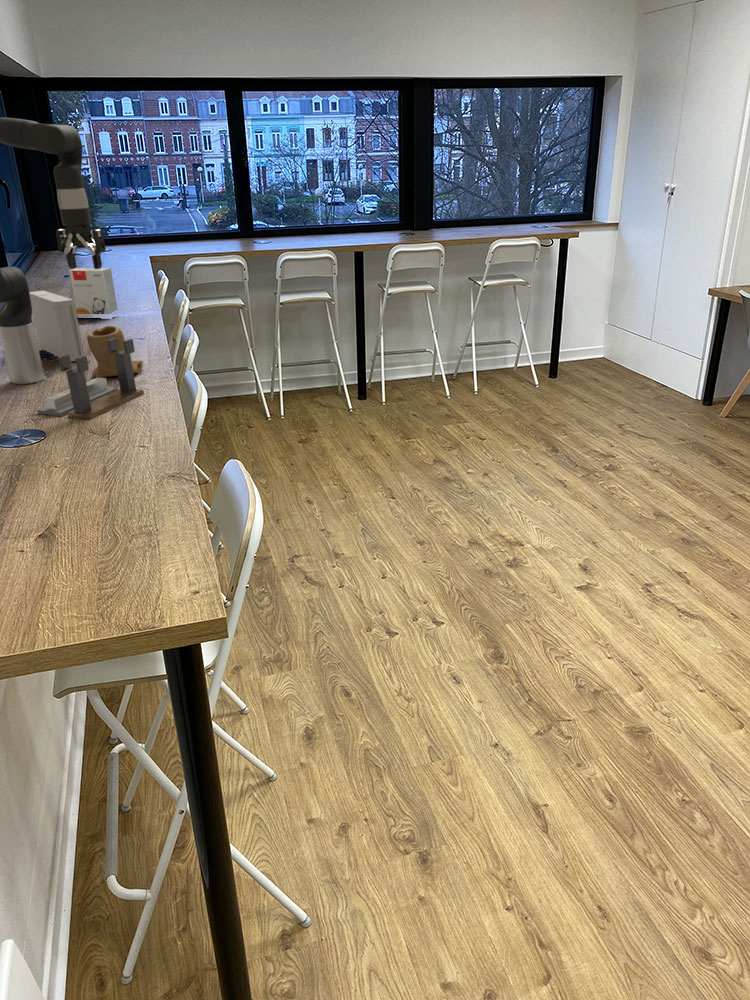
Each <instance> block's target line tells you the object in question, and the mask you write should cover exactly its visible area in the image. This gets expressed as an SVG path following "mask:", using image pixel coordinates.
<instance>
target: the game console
mask: <svg viewBox="0 0 750 1000" xmlns="http://www.w3.org/2000/svg"><path fill="white" fill-rule="evenodd" d="M29 293H30V299H31V305H32V320H33V325H34V329H35V331H36V332H35V334H36V338H37V341H38V342H37V343H38V345H39V346H40V349H41V350H42V351H43V350H45V351H47V352H50V353H52V354H54V355H56V356H58V357H61V356H63V355H69V356H70V361H75V359H76V358H79V357H81V356H86V355H85V351H84V346H83V341H82V336H81V331H80V324H79V321H78V319H77V314H76V309H75V303H74V298H73V299H72V298H68V297H66V296H62V295H60V294H59V295H58V294H56V293H53V292H49V291H46V290H39V291H38V290H37V291H31V292H30V291H29ZM45 351H44V352H45ZM47 352H46V353H47ZM56 356H55V357H56ZM58 357H57V358H58Z"/></svg>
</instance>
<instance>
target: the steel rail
mask: <svg viewBox="0 0 750 1000" xmlns="http://www.w3.org/2000/svg"><path fill="white" fill-rule="evenodd" d="M86 384H87V389H88V394H89V396H91V395H94V394H96V393H98V392H101V391H103V390H105V389H108V387H109V386H108V382H107V377H94V378H93V379H90V380H88V381H86ZM44 402H45V407H46V406H47V410H54V411H57V410H59V409H61V408H64V407H66V406H68V405H71V404H73V402H72V398H71V393H70V388H68V389H65V390H64V391H60V392H58V393H57V394H54V395H51V396H49V397H47V398H44Z"/></svg>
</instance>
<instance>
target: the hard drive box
mask: <svg viewBox="0 0 750 1000" xmlns="http://www.w3.org/2000/svg"><path fill="white" fill-rule="evenodd" d="M67 271H68V276H69V280H70V286H71V293H72V297H73V300H74V304H75V310H76V315H77V314H110V313H112V312H114V311H116V310H118V304H117V303H118V302H117V298H116V292H115V291H116V290H115V287H114V286H115V285H114V280H113V272H112V267H101V268H100V269H94V267H76V268H73V269H68V270H67ZM118 311H119V310H118Z"/></svg>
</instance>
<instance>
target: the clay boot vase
mask: <svg viewBox="0 0 750 1000" xmlns="http://www.w3.org/2000/svg"><path fill="white" fill-rule="evenodd" d="M112 338H117V343H118V349H119V351H124V345H123V341H125V337H124V333H123V332H122V330H121V328H120V327H118V326H115V325H106V326H104V327H103V326H102V327H101V328H95V329H93V330H90V331H89V332H88V333H87V337H86V341H87V344H88V347H89V350H90V351H91V354H92V355H93V357H94V359H95V360H96V363H97V367H95V368H94V369H93V370H92V371H91V374H92V376H94V378H97V377H98V378H109V377H118V373H117V368H116V362H115V356H114V353H116V352H119V351H116V352H114V353H109V351H108V345H107V340H109V339H112ZM131 362H132V368H133V373H134V375H135V374H139V373H140V372H141V371H142V369H143V365H144V361H143V360H131Z"/></svg>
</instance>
